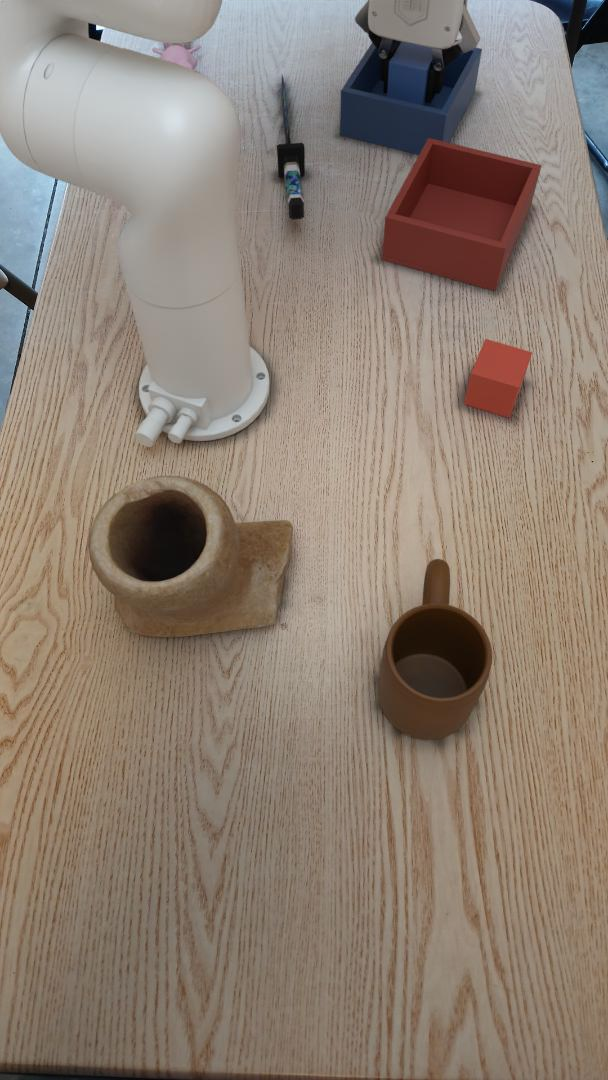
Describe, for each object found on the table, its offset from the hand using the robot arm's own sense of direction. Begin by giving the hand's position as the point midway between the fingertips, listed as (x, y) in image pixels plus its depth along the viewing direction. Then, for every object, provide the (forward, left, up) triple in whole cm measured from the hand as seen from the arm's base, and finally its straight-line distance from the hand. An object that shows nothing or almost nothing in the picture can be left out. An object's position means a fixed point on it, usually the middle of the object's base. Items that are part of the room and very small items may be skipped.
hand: (410, 90), depth 99 cm
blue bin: (0, 0, -3) cm, 3 cm away
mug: (-67, -25, -3) cm, 72 cm away
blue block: (0, 0, 0) cm, 0 cm away
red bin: (-18, -12, -3) cm, 22 cm away
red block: (-38, -22, -3) cm, 44 cm away
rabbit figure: (-3, +30, -3) cm, 30 cm away
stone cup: (-68, -6, -3) cm, 68 cm away
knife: (-13, +10, -3) cm, 17 cm away
